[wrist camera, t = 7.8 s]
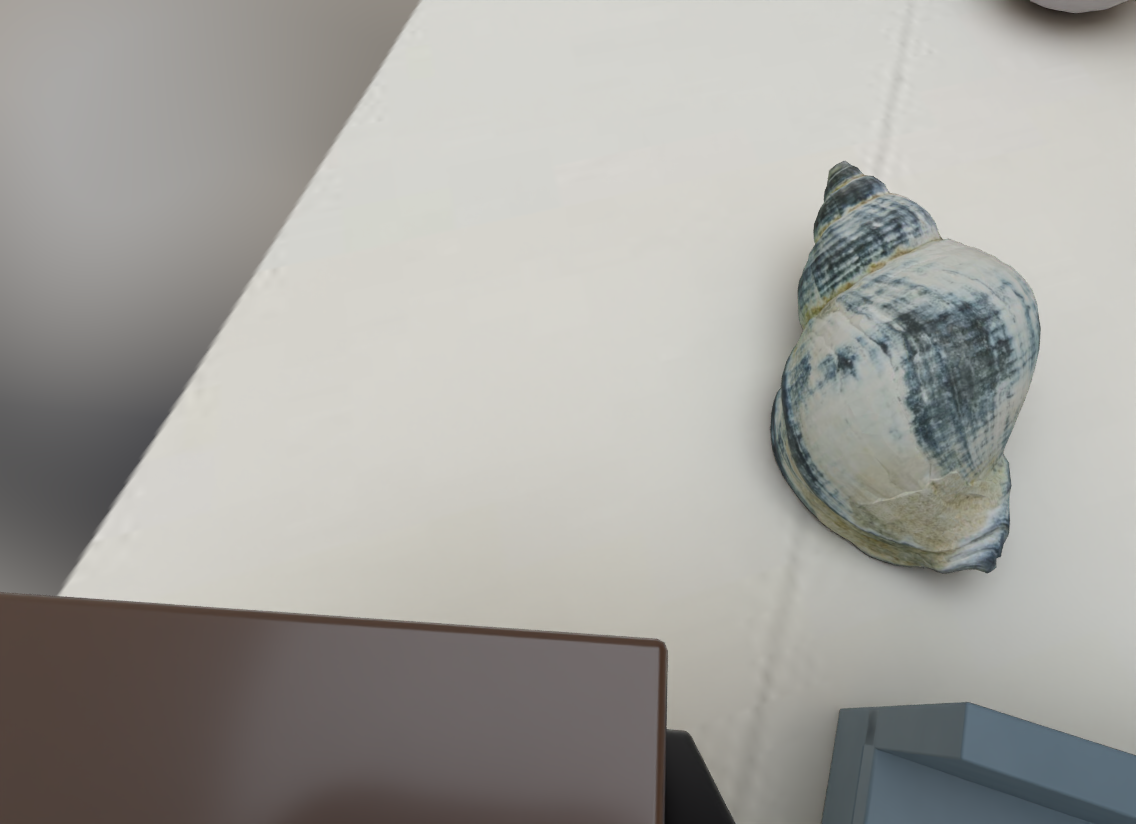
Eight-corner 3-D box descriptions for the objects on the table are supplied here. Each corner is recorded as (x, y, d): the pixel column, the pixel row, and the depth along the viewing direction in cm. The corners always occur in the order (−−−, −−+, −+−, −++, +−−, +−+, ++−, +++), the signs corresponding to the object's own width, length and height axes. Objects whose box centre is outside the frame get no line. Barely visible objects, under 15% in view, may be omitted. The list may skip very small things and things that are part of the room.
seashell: (761, 542, 24) (835, 270, 28) (1011, 596, 20) (1057, 263, 24) (698, 468, 20) (798, 155, 24) (1006, 516, 15) (1064, 118, 19)
